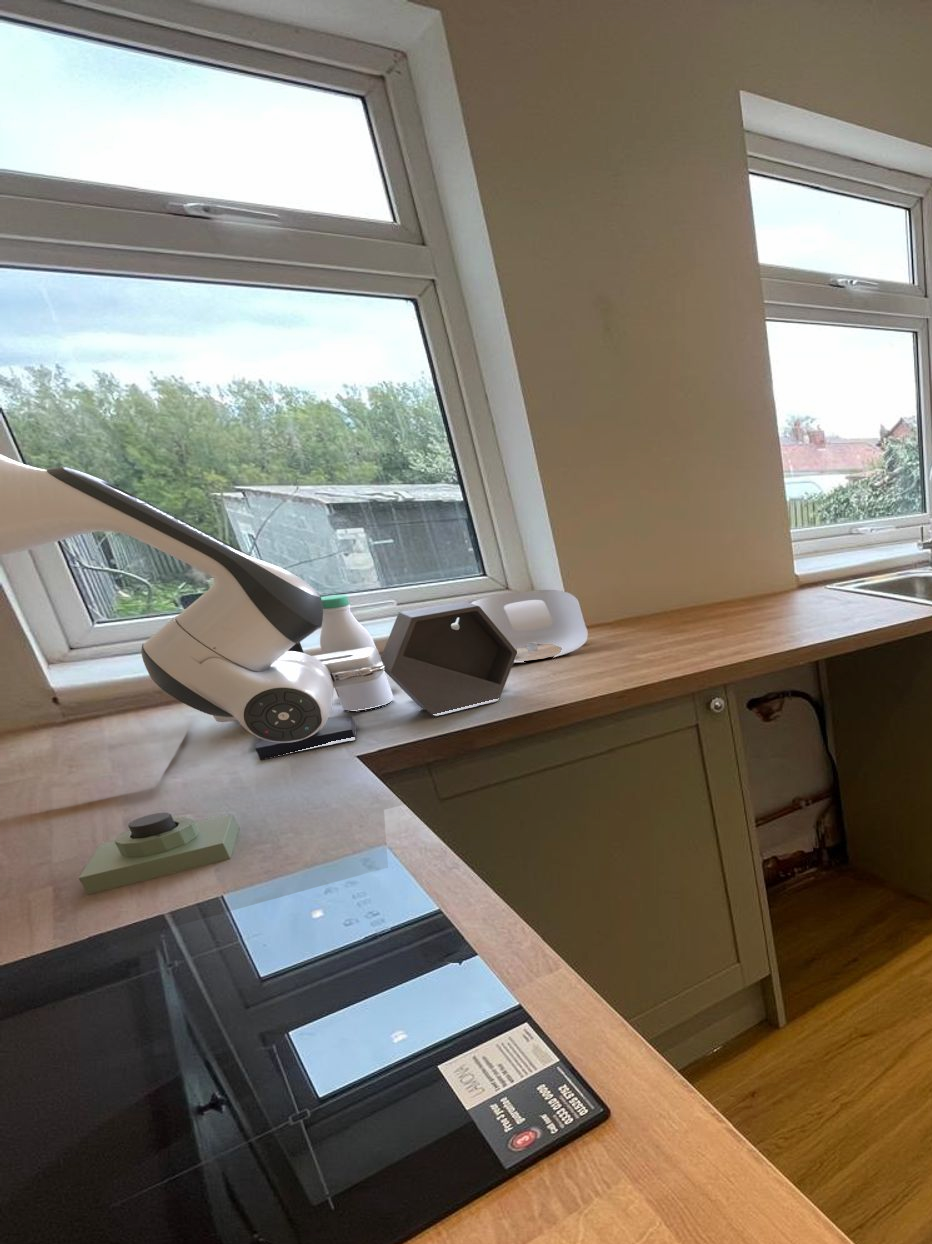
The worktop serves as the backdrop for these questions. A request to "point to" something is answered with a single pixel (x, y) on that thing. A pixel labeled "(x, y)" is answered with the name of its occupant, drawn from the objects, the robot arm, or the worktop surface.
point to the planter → (448, 656)
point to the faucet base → (329, 732)
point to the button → (151, 825)
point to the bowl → (537, 619)
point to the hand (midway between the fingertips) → (296, 663)
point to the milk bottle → (350, 635)
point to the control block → (160, 853)
